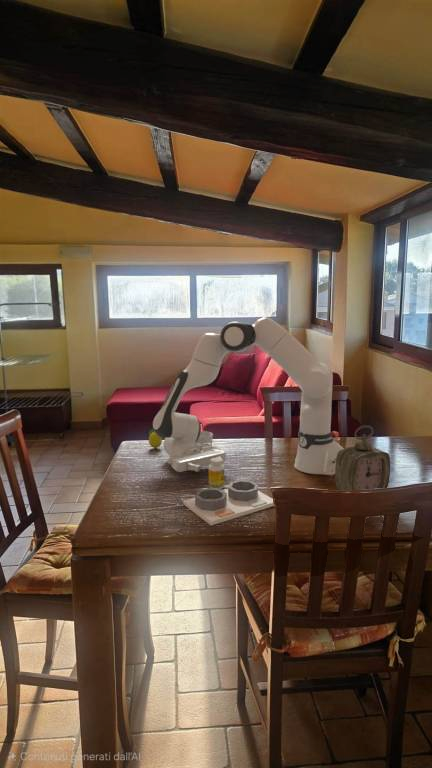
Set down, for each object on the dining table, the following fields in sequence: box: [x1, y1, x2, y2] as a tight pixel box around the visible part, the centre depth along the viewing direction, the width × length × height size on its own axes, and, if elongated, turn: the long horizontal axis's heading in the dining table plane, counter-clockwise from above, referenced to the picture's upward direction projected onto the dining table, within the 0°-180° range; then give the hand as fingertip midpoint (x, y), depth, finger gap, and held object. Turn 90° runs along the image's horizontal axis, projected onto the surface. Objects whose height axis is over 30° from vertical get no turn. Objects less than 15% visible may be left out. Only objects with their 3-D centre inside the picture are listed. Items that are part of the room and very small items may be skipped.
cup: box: [196, 430, 214, 445], centre depth 192 cm, size 11×8×8 cm
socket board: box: [182, 479, 274, 526], centre depth 143 cm, size 24×16×4 cm, turn 123°
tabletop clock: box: [334, 425, 391, 491], centre depth 142 cm, size 14×9×25 cm, turn 114°
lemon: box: [148, 428, 163, 450], centre depth 195 cm, size 7×6×10 cm
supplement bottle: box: [208, 458, 225, 490], centre depth 156 cm, size 5×5×10 cm
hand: (210, 466), depth 160 cm, fingers open, 8 cm apart
